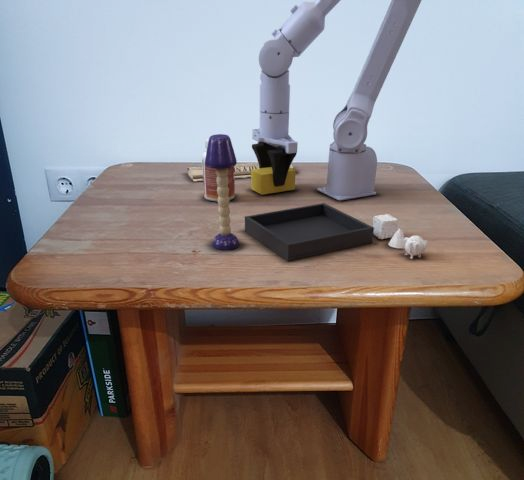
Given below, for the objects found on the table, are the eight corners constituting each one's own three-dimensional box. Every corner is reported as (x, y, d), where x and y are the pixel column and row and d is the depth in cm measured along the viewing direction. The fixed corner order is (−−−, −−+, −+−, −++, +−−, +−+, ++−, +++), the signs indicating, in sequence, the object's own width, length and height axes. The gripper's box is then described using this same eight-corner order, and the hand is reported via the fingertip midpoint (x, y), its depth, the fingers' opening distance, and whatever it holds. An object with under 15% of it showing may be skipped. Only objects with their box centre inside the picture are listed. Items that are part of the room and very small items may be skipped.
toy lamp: (227, 253, 82) (224, 140, 73) (203, 247, 85) (197, 136, 75) (244, 243, 86) (243, 134, 77) (220, 237, 88) (217, 131, 79)
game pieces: (369, 234, 90) (372, 215, 88) (386, 231, 91) (389, 213, 89) (409, 261, 81) (413, 241, 79) (428, 258, 82) (431, 238, 80)
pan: (323, 216, 97) (324, 202, 96) (372, 242, 87) (374, 227, 86) (244, 231, 91) (244, 216, 89) (287, 261, 80) (288, 244, 79)
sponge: (283, 184, 114) (284, 165, 112) (294, 189, 111) (295, 170, 108) (250, 189, 111) (250, 169, 108) (261, 194, 107) (261, 174, 105)
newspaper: (284, 166, 127) (284, 158, 126) (294, 173, 122) (295, 165, 121) (187, 173, 121) (186, 165, 120) (193, 181, 115) (193, 173, 114)
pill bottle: (240, 199, 105) (240, 140, 99) (213, 204, 102) (211, 144, 96) (225, 191, 110) (223, 134, 104) (198, 196, 107) (195, 138, 101)
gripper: (239, 107, 106) (239, 176, 113) (275, 119, 95) (273, 194, 103) (269, 104, 109) (268, 172, 116) (308, 116, 98) (304, 189, 106)
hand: (272, 182), depth 110 cm, fingers closed on sponge, 4 cm apart
